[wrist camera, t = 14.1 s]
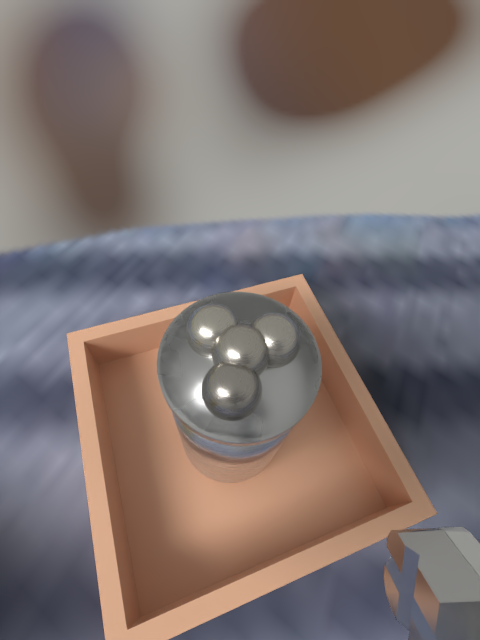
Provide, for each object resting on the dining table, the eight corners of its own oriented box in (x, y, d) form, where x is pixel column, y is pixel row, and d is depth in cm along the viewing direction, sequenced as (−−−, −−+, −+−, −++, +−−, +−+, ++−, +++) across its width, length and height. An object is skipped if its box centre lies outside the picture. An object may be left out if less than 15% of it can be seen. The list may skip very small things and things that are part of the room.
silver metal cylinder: (296, 463, 20) (366, 393, 11) (195, 501, 19) (176, 459, 9) (259, 371, 23) (289, 253, 14) (168, 399, 21) (134, 290, 12)
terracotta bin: (399, 518, 20) (437, 513, 16) (130, 641, 16) (108, 667, 13) (290, 308, 27) (302, 273, 23) (88, 364, 23) (66, 333, 20)
